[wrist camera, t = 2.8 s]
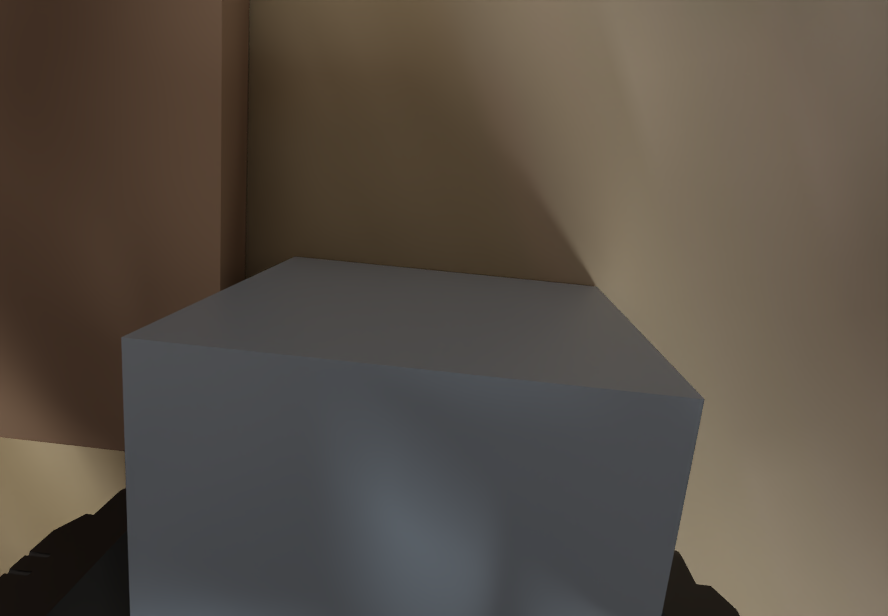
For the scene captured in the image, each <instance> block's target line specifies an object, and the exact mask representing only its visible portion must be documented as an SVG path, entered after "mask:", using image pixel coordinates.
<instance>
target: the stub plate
mask: <svg viewBox="0 0 888 616" xmlns="http://www.w3.org/2000/svg"><path fill="white" fill-rule="evenodd" d="M248 62H249V0H0V437H5V438H14V439H22V440H31V441H40V442H49V443H57V444H66V445H75V446H84V447H92V448H101V449H110V450H119V451H125V438H124V407H123V376H122V344H121V337H123V336H125V335H127V334H130V333H132V332H134V331H136V330H138V329H140V328H142V327H145V326H147V325H149V324H151V323H153V322H155V321H157V320H160V319H162V318H164V317H166V316H168V315H170V314H172V313H175V312H177V311H179V310H181V309H183V308H185V307H187V306H190V305H192V304H194V303H196V302H198V301H200V300H202V299H205V298H207V297H209V296H211V295H213V294H215V293H218V292H220V291H222V290H224V289H226V288H228V287H230V286H233V285H235V284H237V283H239V282H241V281H243V280H245V253H246V190H247V126H248Z"/></svg>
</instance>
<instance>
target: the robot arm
mask: <svg viewBox="0 0 888 616" xmlns="http://www.w3.org/2000/svg"><path fill="white" fill-rule="evenodd" d="M0 616H130V595H129V563H128V532H127V501H126V488H125V489H122V490H121V491H120V492H118V493H117V494H116V495H115V496H114V497H113V498H112V499H111V500H110V501H108V502H107V503H106V504H105V505H104V506H103V507H102V508H101V509H100V510H99V511H98V512H96V513H95V514H94V515H91V514H85V515H83V516H81V517H79V518H77V519H75V520H73V521H71V522H69V523H67V524H65V525H63V526H61V527H59V528H57V529H55V530H54V531H53V532H51V533H50V534H49V535H48V536H47V537H46V538H44V539H43V540H42V541H41V542H40V543H39V544H38V545H36V546H35V547H34V548H33V549H32V550H31V551H30V553H29V555H28V556H26V555H25V556H24V557H23V558H21V559H20V560H19V561H18V562H17V563H16V564H14V565H13V566H12V567H11V568H10V569H9V572H8V574H3V575H2V576H1V577H0ZM661 616H740V615H739V613H738V612H737V610H736V609H735V608H734V607H733V606H732V605H731V604H730V603H729V602H728V601H726V600H725V599H724V598H723V597H722V596H721V595H720V594H719V593H718V592H717V591H716V590H715V589H713V588H712V587H711V586H707V585H698V584H696V583H695V581H694V579H693V577H692V575H691V573H690V572H689V570H688V568H687V566H686V564H685V562H684V560H683V558H682V556H681V555H680V553H679V552H678V551H675V550H674V555H673V560H672V565H671V570H670V575H669V580H668V585H667V590H666V595H665V600H664V605H663V610H662V615H661Z"/></svg>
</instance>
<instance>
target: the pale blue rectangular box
mask: <svg viewBox="0 0 888 616" xmlns="http://www.w3.org/2000/svg"><path fill="white" fill-rule="evenodd" d="M121 344H122V376H123V407H124V438H125V469H126V501H127V532H128V563H129V595H130V616H661V615H662V610H663V605H664V600H665V595H666V590H667V585H668V580H669V575H670V570H671V565H672V560H673V555H674V550H675V545H676V540H677V535H678V530H679V525H680V520H681V515H682V510H683V504H684V499H685V494H686V489H687V484H688V479H689V474H690V469H691V464H692V459H693V454H694V449H695V444H696V439H697V434H698V429H699V424H700V419H701V414H702V409H703V404H704V398H703V397H702V396H701V395H700V394H699V393H698V392H697V391H696V390H695V389H694V388H693V387H692V386H691V385H690V384H689V383H688V382H687V381H686V380H685V378H684V377H683V376H682V375H681V374H680V373H679V372H678V371H677V370H676V369H675V368H674V367H673V366H672V365H671V364H670V363H669V362H668V361H667V360H666V359H665V358H664V356H663V355H662V354H661V353H660V352H659V351H658V350H657V349H656V348H655V347H654V346H653V345H652V344H651V343H650V342H649V341H648V340H647V339H646V338H645V337H644V336H643V335H642V333H641V332H640V331H639V330H638V329H637V328H636V327H635V326H634V325H633V324H632V323H631V322H630V321H629V320H628V319H627V318H626V317H625V316H624V315H623V314H622V313H621V311H620V310H619V309H618V308H617V307H616V306H615V305H614V304H613V303H612V302H611V301H610V300H609V299H608V298H607V297H606V296H605V295H604V294H603V293H602V292H601V291H600V289H599V288H598V287H596V286H586V285H576V284H566V283H556V282H546V281H536V280H526V279H516V278H506V277H496V276H486V275H476V274H466V273H456V272H445V271H435V270H425V269H415V268H405V267H395V266H385V265H375V264H365V263H355V262H345V261H335V260H325V259H315V258H305V257H293V258H290V259H288V260H286V261H284V262H282V263H280V264H278V265H275V266H273V267H271V268H269V269H267V270H265V271H263V272H260V273H258V274H256V275H254V276H252V277H250V278H248V279H245V280H243V281H241V282H239V283H237V284H235V285H233V286H230V287H228V288H226V289H224V290H222V291H220V292H218V293H215V294H213V295H211V296H209V297H207V298H205V299H202V300H200V301H198V302H196V303H194V304H192V305H190V306H187V307H185V308H183V309H181V310H179V311H177V312H175V313H172V314H170V315H168V316H166V317H164V318H162V319H160V320H157V321H155V322H153V323H151V324H149V325H147V326H145V327H142V328H140V329H138V330H136V331H134V332H132V333H130V334H127V335H125V336H123V337H121Z"/></svg>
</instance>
